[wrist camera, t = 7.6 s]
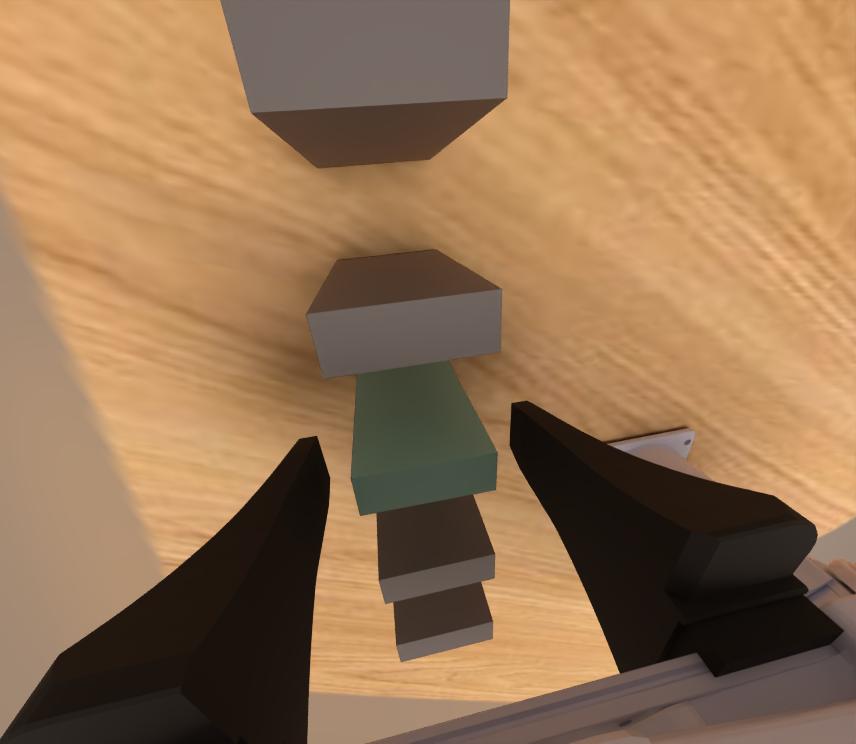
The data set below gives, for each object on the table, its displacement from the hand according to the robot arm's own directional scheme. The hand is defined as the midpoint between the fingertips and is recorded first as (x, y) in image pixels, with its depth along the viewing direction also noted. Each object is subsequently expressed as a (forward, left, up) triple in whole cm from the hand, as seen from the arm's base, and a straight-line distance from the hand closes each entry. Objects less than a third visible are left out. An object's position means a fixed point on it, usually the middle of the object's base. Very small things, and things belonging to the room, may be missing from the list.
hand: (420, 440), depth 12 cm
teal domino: (0, 0, -6) cm, 6 cm away
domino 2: (+5, 0, -6) cm, 8 cm away
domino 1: (+10, 0, -6) cm, 12 cm away
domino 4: (-10, 0, -6) cm, 11 cm away
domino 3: (-5, 0, -6) cm, 8 cm away
